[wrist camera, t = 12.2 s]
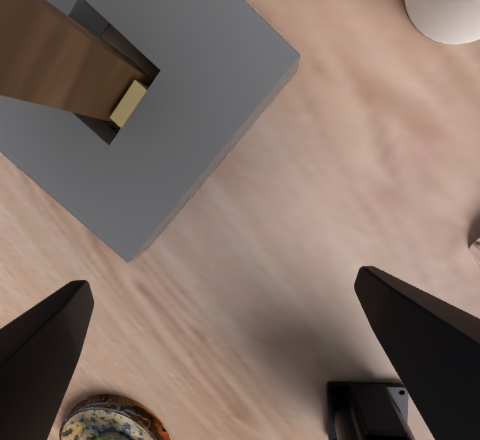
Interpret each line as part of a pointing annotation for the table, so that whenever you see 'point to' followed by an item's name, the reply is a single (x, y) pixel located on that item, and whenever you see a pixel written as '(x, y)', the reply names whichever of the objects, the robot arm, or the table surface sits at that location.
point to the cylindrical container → (446, 19)
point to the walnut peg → (60, 61)
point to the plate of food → (111, 421)
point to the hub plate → (152, 115)
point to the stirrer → (475, 251)
